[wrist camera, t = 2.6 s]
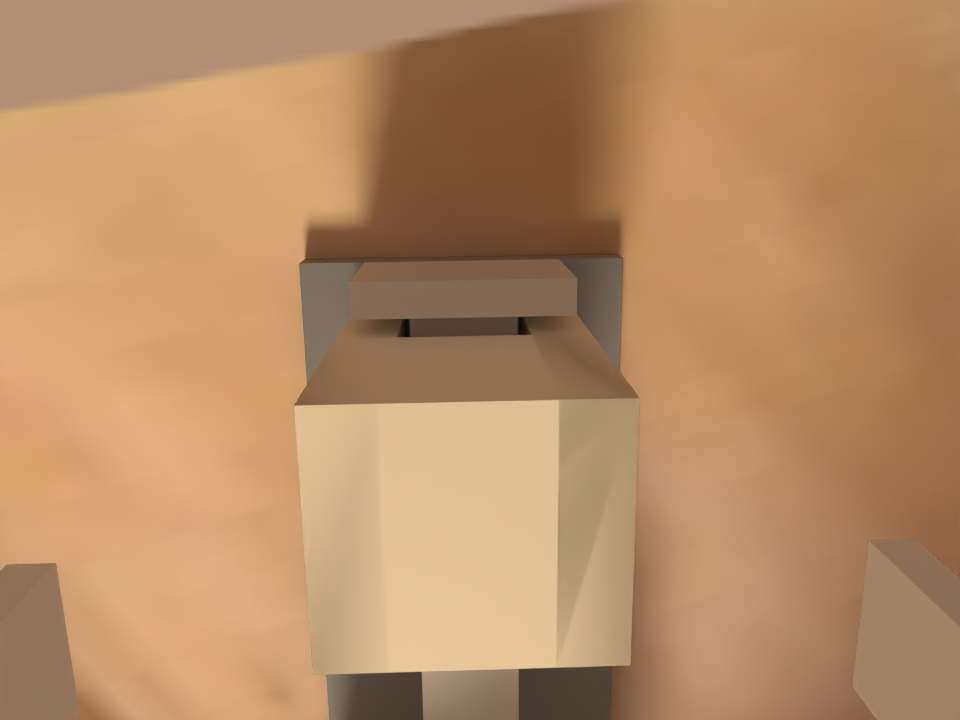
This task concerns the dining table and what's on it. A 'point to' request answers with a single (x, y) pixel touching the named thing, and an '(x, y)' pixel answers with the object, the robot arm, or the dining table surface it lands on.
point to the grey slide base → (465, 312)
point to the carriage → (468, 500)
